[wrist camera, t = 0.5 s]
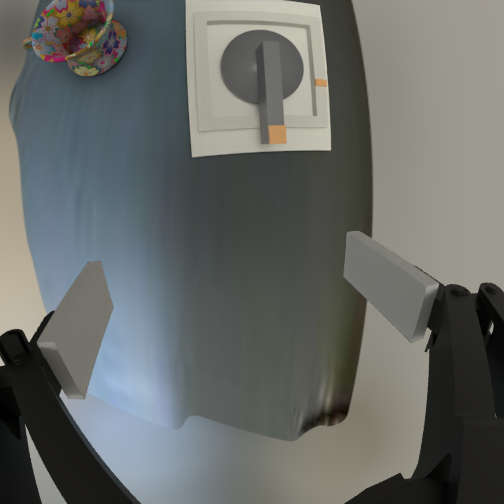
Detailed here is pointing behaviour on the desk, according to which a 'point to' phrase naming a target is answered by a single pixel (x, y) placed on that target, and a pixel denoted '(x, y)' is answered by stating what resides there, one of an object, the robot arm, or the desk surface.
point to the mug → (79, 35)
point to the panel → (235, 109)
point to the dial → (263, 76)
